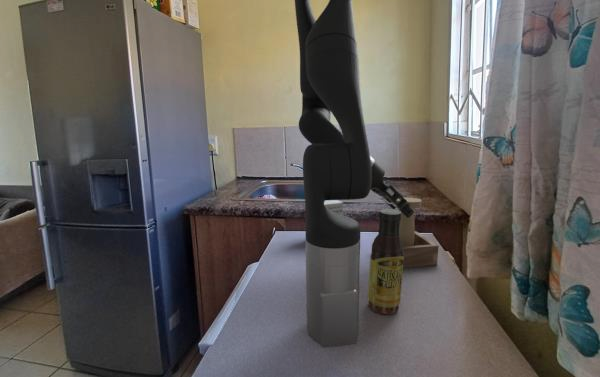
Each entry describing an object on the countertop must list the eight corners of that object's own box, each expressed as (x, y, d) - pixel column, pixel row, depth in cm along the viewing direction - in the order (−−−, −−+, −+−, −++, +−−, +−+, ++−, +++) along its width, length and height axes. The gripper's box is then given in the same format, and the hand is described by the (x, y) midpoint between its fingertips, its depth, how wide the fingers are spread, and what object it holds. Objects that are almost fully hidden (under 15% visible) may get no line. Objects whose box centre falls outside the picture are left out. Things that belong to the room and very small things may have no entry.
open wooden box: (437, 264, 88) (438, 245, 87) (395, 268, 86) (395, 249, 85) (415, 247, 99) (416, 231, 98) (377, 250, 97) (378, 234, 96)
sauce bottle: (375, 318, 65) (378, 217, 61) (362, 301, 71) (365, 208, 67) (407, 313, 66) (412, 214, 62) (392, 297, 72) (396, 206, 68)
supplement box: (310, 238, 108) (310, 199, 105) (331, 234, 111) (331, 196, 108) (322, 246, 101) (322, 204, 98) (343, 242, 104) (344, 201, 101)
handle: (418, 259, 88) (421, 202, 85) (392, 256, 91) (394, 201, 87) (418, 252, 93) (421, 198, 90) (393, 249, 95) (396, 196, 92)
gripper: (383, 160, 78) (427, 206, 82) (362, 154, 92) (400, 194, 96) (360, 184, 78) (405, 229, 82) (342, 175, 92) (382, 213, 96)
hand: (403, 210), depth 89 cm, fingers open, 8 cm apart
